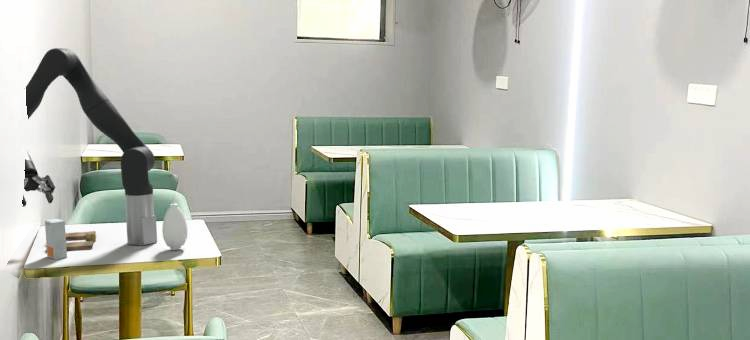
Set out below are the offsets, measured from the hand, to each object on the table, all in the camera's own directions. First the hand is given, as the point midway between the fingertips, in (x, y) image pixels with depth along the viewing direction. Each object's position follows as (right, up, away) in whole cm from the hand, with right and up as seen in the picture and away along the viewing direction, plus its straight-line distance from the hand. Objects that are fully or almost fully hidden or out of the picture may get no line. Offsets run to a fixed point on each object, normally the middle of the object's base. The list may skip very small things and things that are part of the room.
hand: (38, 203), depth 243 cm
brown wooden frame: (+6, -14, +14) cm, 21 cm away
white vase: (+44, -16, +3) cm, 47 cm away
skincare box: (+9, -17, -6) cm, 20 cm away
